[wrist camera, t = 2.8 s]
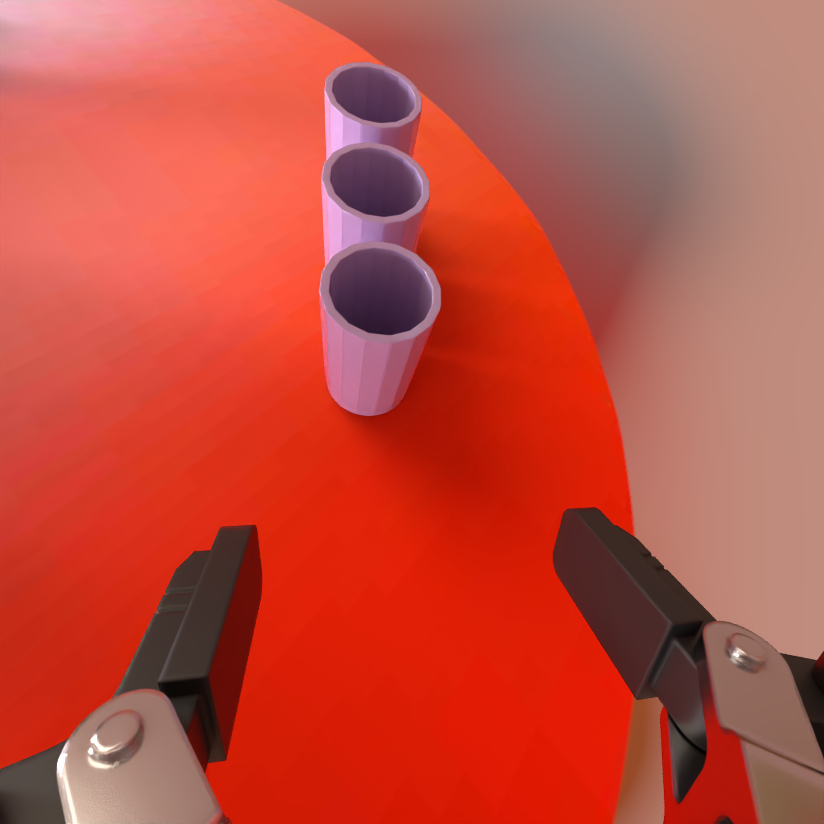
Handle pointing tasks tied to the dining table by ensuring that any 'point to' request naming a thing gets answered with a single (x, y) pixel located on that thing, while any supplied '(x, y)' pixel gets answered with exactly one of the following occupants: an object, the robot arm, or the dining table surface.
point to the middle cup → (372, 197)
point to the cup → (371, 108)
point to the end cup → (375, 323)
